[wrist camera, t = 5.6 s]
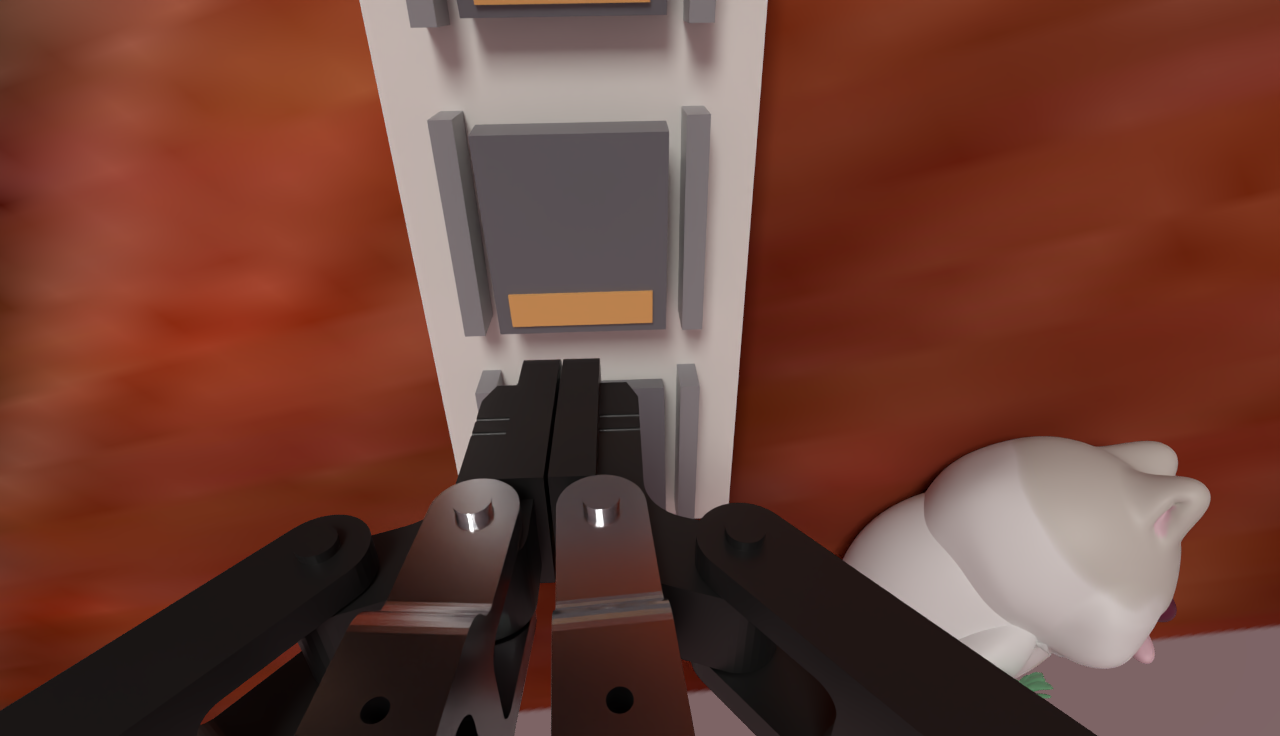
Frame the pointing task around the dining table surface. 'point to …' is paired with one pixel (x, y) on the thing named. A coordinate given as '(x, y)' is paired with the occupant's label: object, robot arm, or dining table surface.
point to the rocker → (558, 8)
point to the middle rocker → (575, 223)
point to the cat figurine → (1041, 550)
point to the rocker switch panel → (568, 93)
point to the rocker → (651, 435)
